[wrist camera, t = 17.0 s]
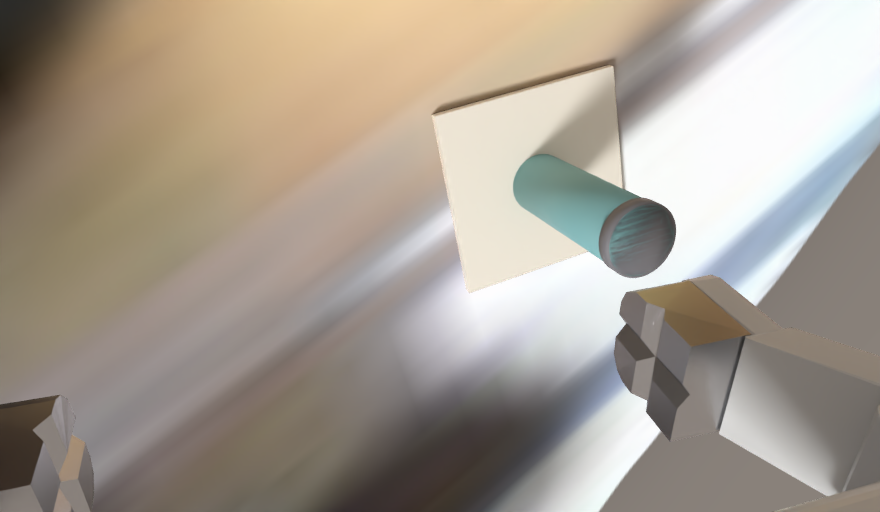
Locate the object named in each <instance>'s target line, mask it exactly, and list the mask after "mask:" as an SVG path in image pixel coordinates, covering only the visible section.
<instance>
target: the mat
mask: <svg viewBox="0 0 880 512" xmlns="http://www.w3.org/2000/svg"><path fill="white" fill-rule="evenodd" d="M432 119H433V124H434V129H435V134H436V139H437V144H438V149H439V155H440V160H441V165H442V170H443V175H444V180H445V185H446V190H447V195H448V200H449V205H450V210H451V215H452V220H453V225H454V230H455V235H456V240H457V245H458V250H459V256H460V261H461V266H462V271H463V276H464V281H465V286H466V290H467V291H468V292H469V293H471V292H474V291H477V290H480V289H483V288H486V287H489V286H491V285H494V284H497V283H500V282H503V281H506V280H509V279H511V278H514V277H517V276H520V275H523V274H526V273H529V272H531V271H534V270H537V269H540V268H543V267H546V266H549V265H551V264H554V263H557V262H560V261H563V260H566V259H568V258H571V257H574V256H577V255H580V254H583V253H586V252H588V251H587V250H586V249H584V248H583V247H581V246H580V245H578V244H577V243H575V242H574V241H572V240H571V239H569V238H568V237H566V236H565V235H563V234H562V233H560V232H559V231H557V230H556V229H554V228H553V227H551V226H550V225H548V224H547V223H545V222H544V221H542V220H541V219H539V218H538V217H536V216H535V215H533V214H532V213H530V212H529V211H527V210H526V209H524V208H523V207H521V206H520V205H519V204H518V202H517V201H516V199H515V196H514V193H513V181H514V177H515V175H516V172H517V171H518V169H519V167H520V166H521V165H522V164H523V163H524V162H525V161H526V160H527V159H529V158H531V157H532V156H535V155H539V154H549V155H552V156H554V157H557V158H559V159H561V160H563V161H565V162H567V163H569V164H571V165H573V166H576V167H578V168H580V169H582V170H584V171H586V172H588V173H590V174H593V175H595V176H597V177H599V178H601V179H603V180H605V181H607V182H609V183H612V184H614V185H616V186H618V187H620V188H622V189H623V186H622V173H621V159H620V146H619V133H618V120H617V106H616V93H615V80H614V67H613V66H611V65H606V66H603V67H599V68H596V69H592V70H589V71H585V72H581V73H578V74H574V75H571V76H567V77H564V78H560V79H557V80H553V81H549V82H546V83H542V84H539V85H535V86H532V87H528V88H525V89H521V90H517V91H514V92H510V93H507V94H503V95H500V96H496V97H493V98H489V99H485V100H482V101H478V102H475V103H471V104H468V105H464V106H461V107H457V108H453V109H450V110H446V111H443V112H439V113H436V114H432Z"/></svg>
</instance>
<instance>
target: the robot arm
mask: <svg viewBox="0 0 880 512" xmlns="http://www.w3.org/2000/svg"><path fill="white" fill-rule="evenodd" d="M619 314H620V316H621V317H622V318H623V320H624V321H625V323H626V325H625V326H624V327H623V329H622V330H621V331H620V332H619V334H618V335H617V336H616V341H615V350H614V356H615V361H616V366H617V371H618V373H619V375H620V377H621V379H622V381H623V383H624V384H625V386H626V387H627V388H628V390H629V391H630V392H631V393H632V394H635V395H637V396H639V397H641V398H643V399H645V400H647V409H646V412H647V414H648V415H649V416H650V417H651V419H652V420H653V421H654V422H655V424H656V425H657V426H658V427H659V429H660V430H661V431H662V432H663V434H664V435H665V436H666V437H667V438H668V440H669V441H670V442H671V441H676V440H680V439H685V438H690V437H694V436H699V435H703V434H709V433H713V432H718V431H720V432H719V434H720V435H722V436H724V437H725V438H727V439H729V440H731V441H732V442H734V443H736V444H738V445H739V446H741V447H743V448H744V449H746V450H748V451H750V452H751V453H753V454H755V455H757V456H758V457H760V458H762V459H763V460H765V461H767V462H769V463H770V464H772V465H774V466H776V467H777V468H779V469H781V470H783V471H784V472H786V473H788V474H789V475H791V476H793V477H795V478H796V479H798V480H800V481H802V482H803V483H805V484H807V485H808V486H810V487H812V488H814V489H816V490H817V491H819V492H821V493H822V494H824V495H826V496H827V497H823V498H820V499H816V500H813V501H809V502H806V503H802V504H799V505H795V506H792V507H788V508H785V509H781V510H778V511H774V512H880V356H877V355H875V354H871V353H868V352H865V351H862V350H859V349H856V348H853V347H850V346H847V345H844V344H841V343H838V342H835V341H832V340H829V339H826V338H823V337H820V336H817V335H814V334H810V333H808V332H805V331H802V330H799V329H796V328H792V327H790V328H785V329H783V328H781V327H780V326H779V325H778V324H776V323H775V322H774V321H773V320H772V319H770V318H769V317H768V316H767V315H765V314H764V313H763V312H762V311H760V310H759V309H758V308H757V307H756V306H754V305H753V304H752V303H751V302H749V301H748V300H747V299H746V298H744V297H743V296H742V295H741V294H739V293H738V292H737V291H736V290H734V289H733V288H732V287H731V286H730V285H728V284H727V283H726V282H725V281H723V280H722V279H721V278H719V277H716V276H713V275H707V276H702V277H697V278H693V279H688V280H683V281H682V282H679V283H673V284H668V285H662V286H657V287H652V288H646V289H641V290H636V291H630V292H626V294H625V296H624V298H623V299H622V301H621V307H620V313H619ZM75 419H76V417H75V415H74V412H73V410H72V408H71V405H70V403H69V401H68V399H67V398H65V397H64V396H62V395H57V396H50V397H44V398H38V399H32V400H26V401H20V402H13V403H7V404H1V405H0V512H91V511H92V504H93V498H94V473H93V468H92V463H91V458H90V454H89V452H88V449H87V446H86V443H85V442H83V441H82V440H80V439H78V438H76V437H75V436H73V435H72V432H73V427H74V423H75Z"/></svg>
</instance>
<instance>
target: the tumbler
mask: <svg viewBox="0 0 880 512" xmlns="http://www.w3.org/2000/svg"><path fill="white" fill-rule="evenodd" d="M513 193H514V196H515V199H516V201H517V202H518V204H519V205H520V206H521V207H523V208H524V209H526V210H527V211H529V212H530V213H532V214H533V215H535V216H536V217H538V218H539V219H541V220H542V221H544V222H545V223H547V224H548V225H550V226H551V227H553V228H554V229H556V230H557V231H559V232H560V233H562V234H563V235H565V236H566V237H568V238H569V239H571V240H572V241H574V242H575V243H577V244H578V245H580V246H581V247H583V248H584V249H586V250H587V251H589V252H590V253H592V254H593V255H595V256H596V257H598V258H599V259H601V260H602V261H604V263H605V264H606V265H607V266H608V267H609V268H611V269H612V270H614V271H615V272H617V273H618V274H620V275H622V276H624V277H628V278H637V277H642V276H645V275H647V274H649V273H651V272H653V271H654V270H656V269H657V268H658V267H659V266H660V265H661V264H662V263H663V262H664V261H665V260H666V258H667V257H668V255H669V254H670V252H671V250H672V247H673V245H674V241H675V236H676V225H675V220H674V218H673V216H672V214H671V212H670V211H669V210H668V209H667V208H666V207H664V206H663V205H661V204H659V203H657V202H654V201H652V200H650V199H647V198H641V197H639V196H637V195H635V194H633V193H631V192H629V191H626V190H624V189H622V188H620V187H618V186H616V185H614V184H612V183H609V182H607V181H605V180H603V179H601V178H599V177H597V176H595V175H593V174H590V173H588V172H586V171H584V170H582V169H580V168H578V167H576V166H573V165H571V164H569V163H567V162H565V161H563V160H561V159H559V158H557V157H554V156H552V155H549V154H539V155H535V156H532V157H531V158H529V159H527V160H526V161H525V162H524V163H523V164H522V165H521V166H520V167H519V169H518V171H517V172H516V175H515V177H514V181H513Z"/></svg>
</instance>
